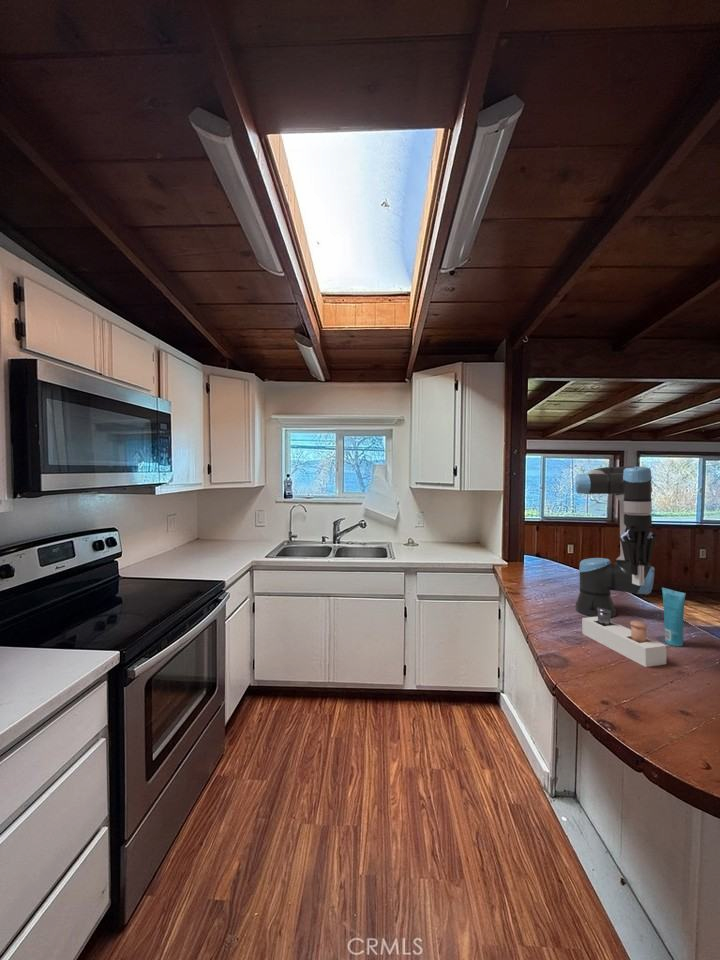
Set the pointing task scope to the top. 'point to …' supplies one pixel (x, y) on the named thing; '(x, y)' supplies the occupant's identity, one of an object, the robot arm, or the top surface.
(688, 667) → the top surface
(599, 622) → the plunger graphite
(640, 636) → the tan rounded peg
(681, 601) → the tube
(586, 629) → the block
